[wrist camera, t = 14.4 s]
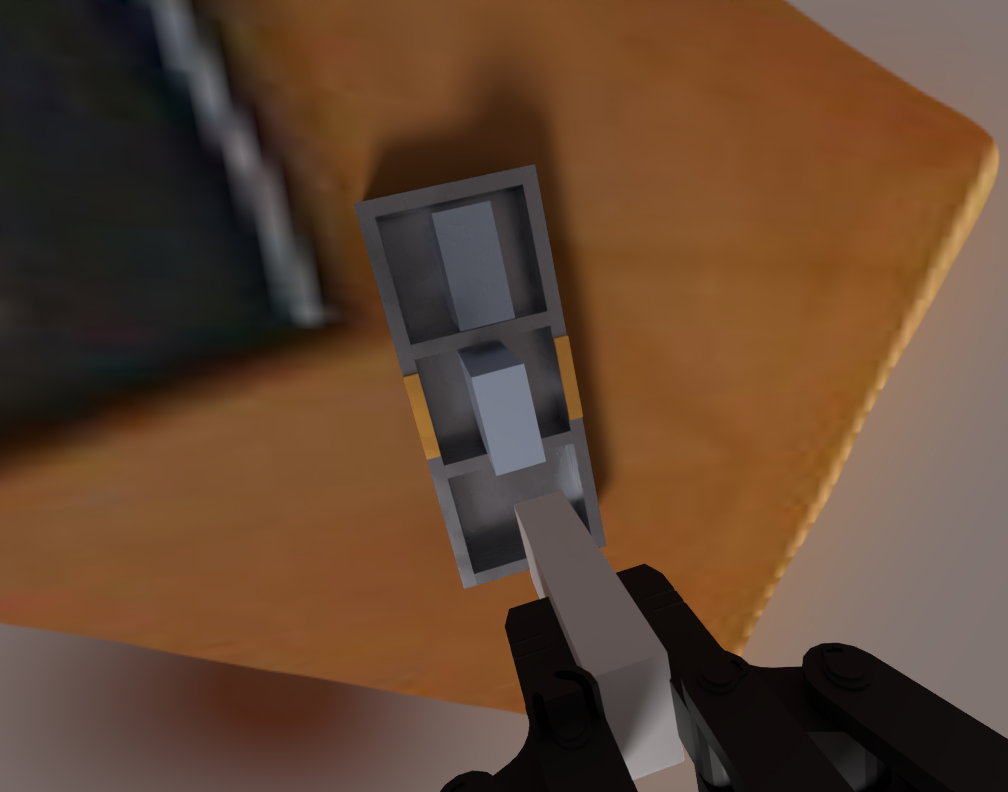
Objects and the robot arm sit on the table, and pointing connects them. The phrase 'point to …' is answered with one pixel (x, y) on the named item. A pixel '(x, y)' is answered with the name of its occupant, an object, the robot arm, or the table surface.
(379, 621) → the table surface
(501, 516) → the rack
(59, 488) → the table surface
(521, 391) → the block
